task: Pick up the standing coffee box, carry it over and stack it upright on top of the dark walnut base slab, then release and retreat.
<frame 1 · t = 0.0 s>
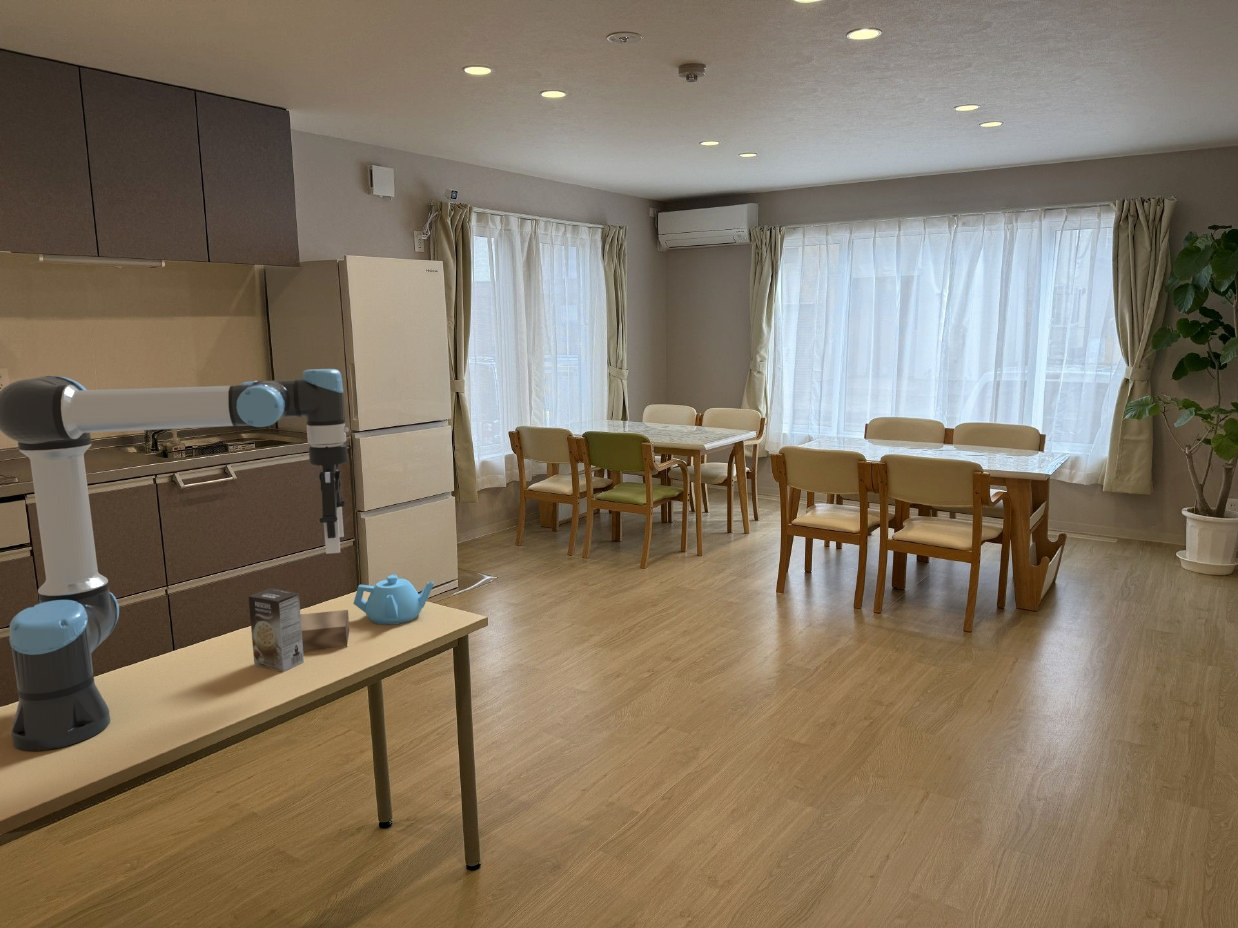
hand: (335, 544, 177), 28 cm above the table, fingers open, 13 cm apart
coffee box: (279, 664, 186), on the table
teapot: (395, 617, 215), on the table
walnut base: (321, 640, 199), on the table
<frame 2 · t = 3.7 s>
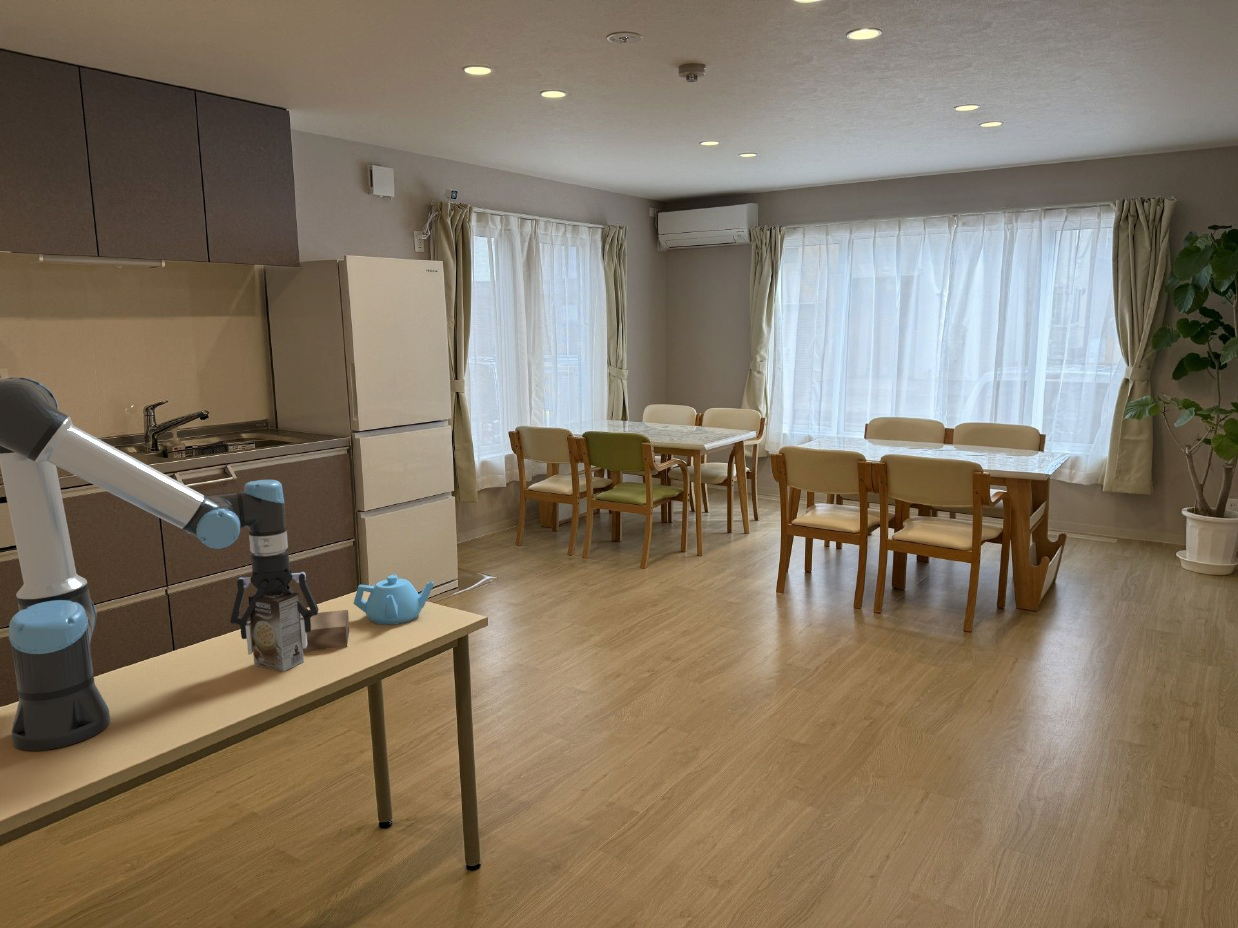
hand: (278, 649, 185), 3 cm above the table, fingers closed on coffee box, 10 cm apart
coffee box: (279, 664, 186), on the table, touching gripper
everything else where it was.
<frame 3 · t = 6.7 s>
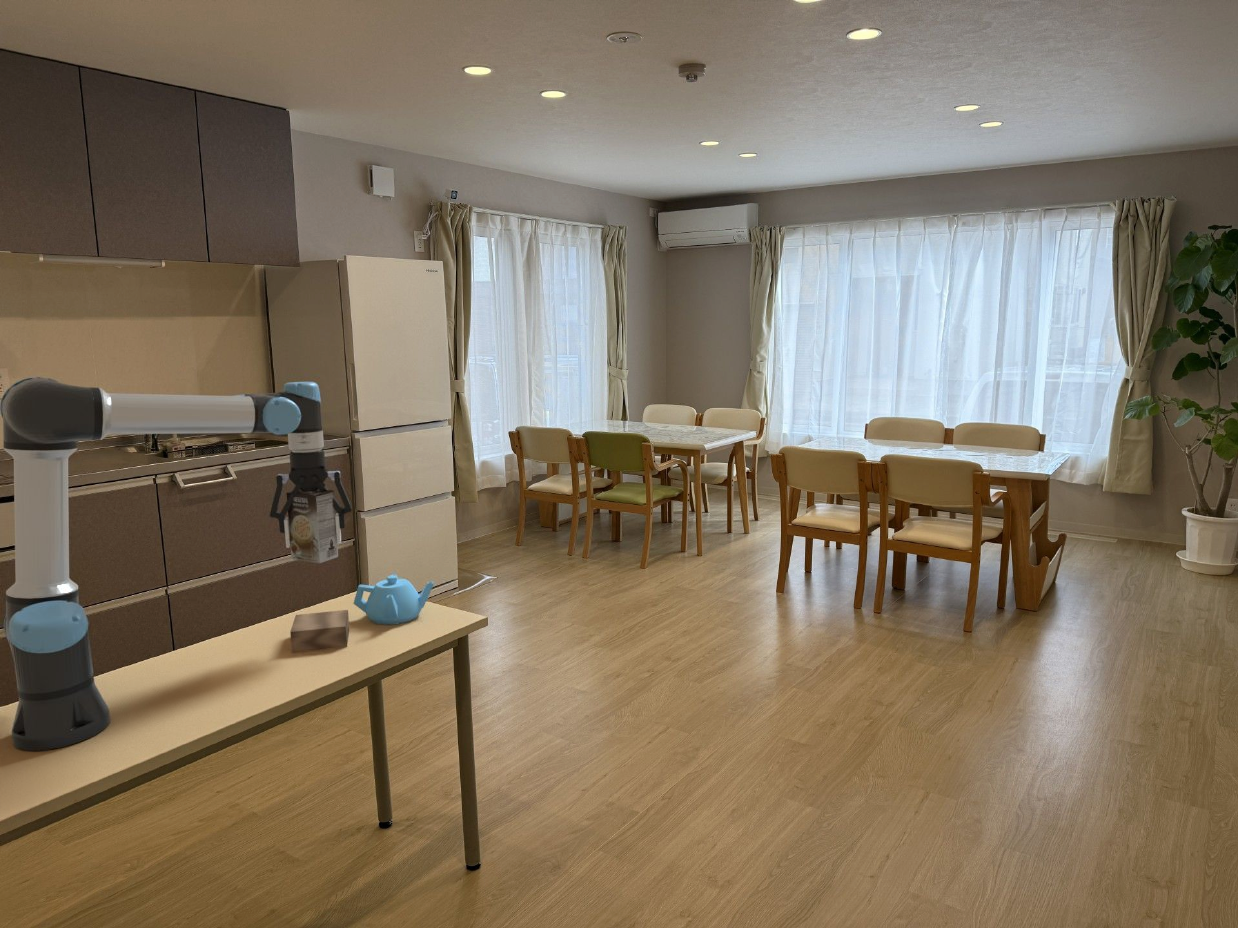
hand: (314, 544, 195), 24 cm above the table, fingers closed on coffee box, 10 cm apart
coffee box: (315, 559, 196), point 20 cm above the table, touching gripper
everything else where it was.
when the fingers open (10 cm above the table, at t = 9.7 s): coffee box drops 1 cm, resting on walnut base.
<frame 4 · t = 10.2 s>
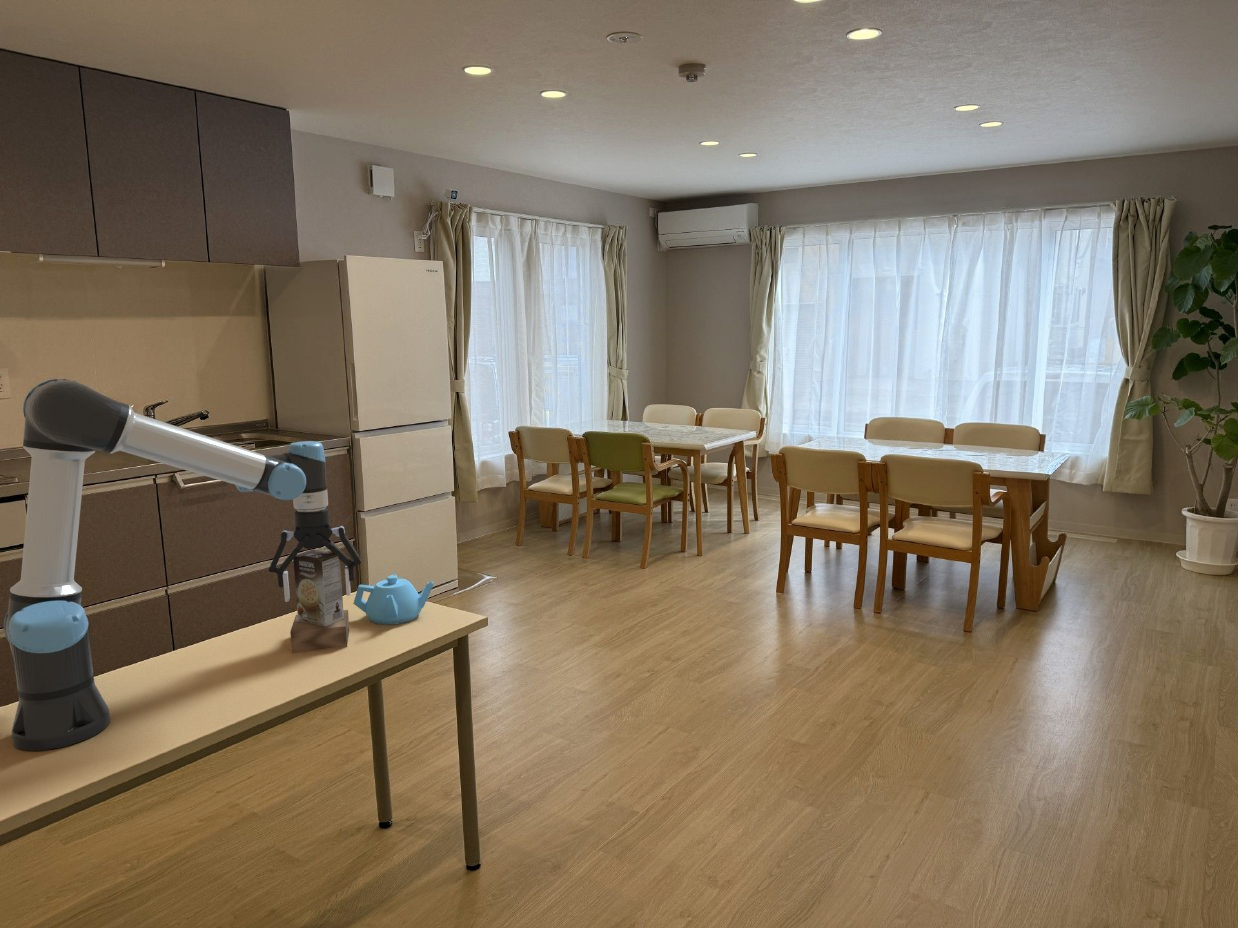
hand: (318, 597, 198), 11 cm above the table, fingers open, 13 cm apart
coffee box: (321, 621, 199), point 5 cm above the table, touching walnut base
everything else where it was.
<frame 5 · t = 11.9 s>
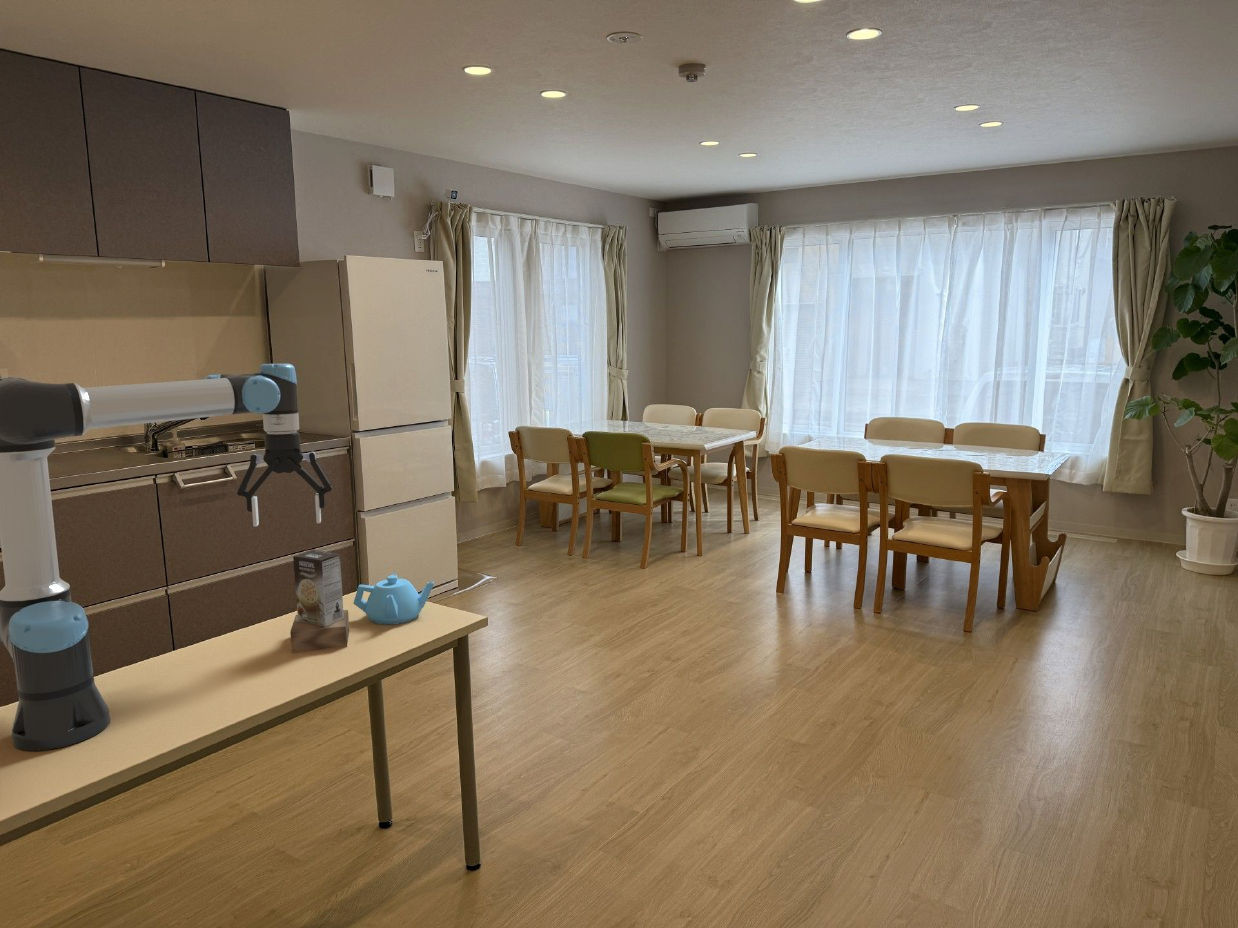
hand: (287, 523, 194), 29 cm above the table, fingers open, 13 cm apart
nothing on the table moved.
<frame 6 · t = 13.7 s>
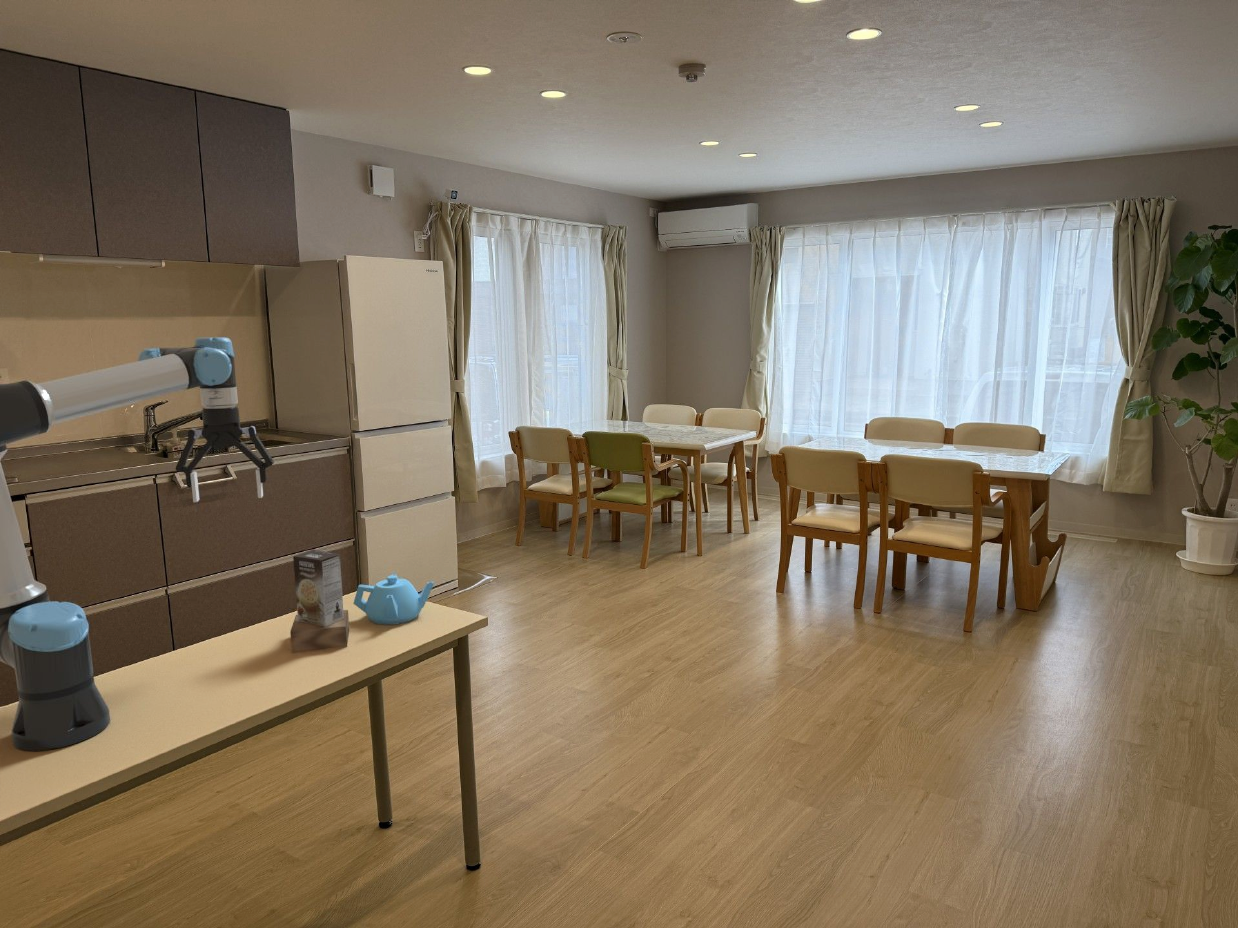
hand: (228, 499, 193), 35 cm above the table, fingers open, 13 cm apart
nothing on the table moved.
at the end: coffee box inside the target area on the walnut base (0.2 cm from its centre), point 4.8 cm above the walnut base's base; coffee box tilted 0°; the gripper is holding nothing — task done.
